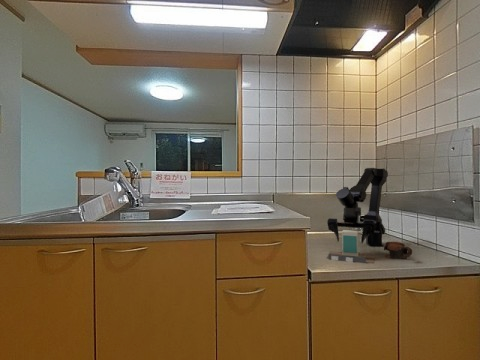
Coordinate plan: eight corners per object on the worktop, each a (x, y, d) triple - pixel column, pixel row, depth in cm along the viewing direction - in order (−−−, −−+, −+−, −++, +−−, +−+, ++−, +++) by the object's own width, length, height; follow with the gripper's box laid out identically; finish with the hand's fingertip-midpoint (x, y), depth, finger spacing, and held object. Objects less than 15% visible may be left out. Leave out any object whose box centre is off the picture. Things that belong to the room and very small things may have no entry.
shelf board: (330, 253, 129) (330, 251, 129) (373, 257, 121) (373, 255, 121) (326, 260, 117) (326, 258, 117) (374, 265, 110) (374, 263, 110)
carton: (343, 255, 121) (342, 229, 121) (358, 256, 119) (358, 230, 119) (342, 258, 118) (342, 231, 118) (357, 259, 115) (357, 232, 115)
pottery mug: (378, 259, 120) (378, 241, 123) (391, 266, 123) (391, 248, 127) (406, 258, 110) (406, 238, 114) (420, 266, 114) (419, 246, 117)
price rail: (328, 261, 117) (328, 253, 117) (365, 264, 111) (365, 257, 111) (328, 261, 116) (328, 254, 116) (365, 265, 110) (365, 258, 110)
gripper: (327, 200, 126) (324, 229, 116) (374, 201, 118) (374, 232, 108) (330, 215, 133) (327, 244, 123) (374, 217, 125) (374, 248, 115)
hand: (349, 242), depth 117 cm, fingers open, 9 cm apart
